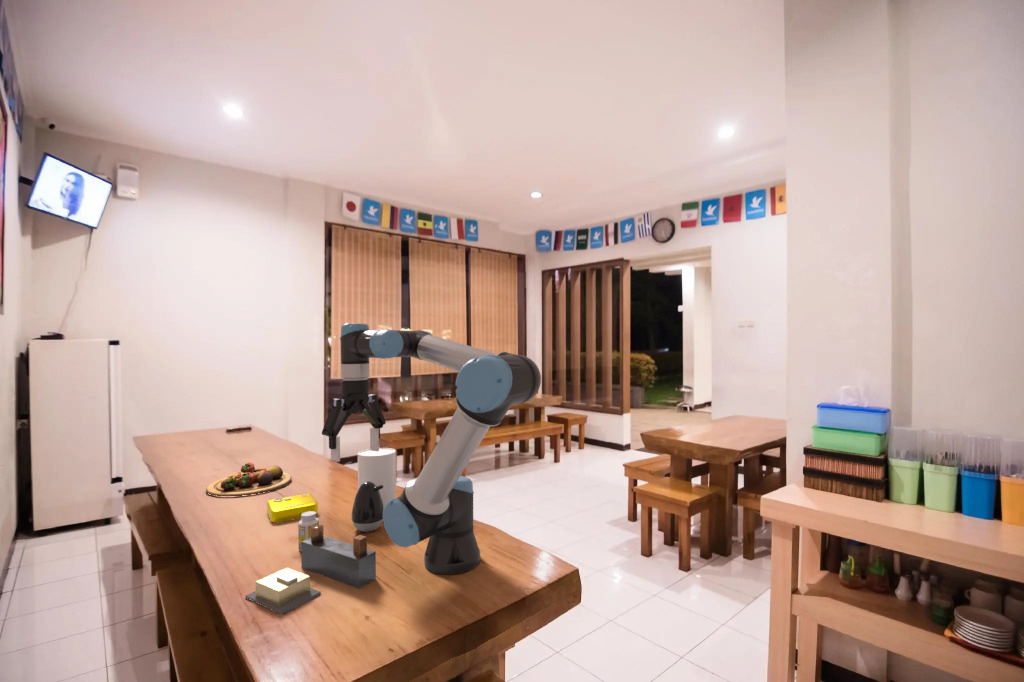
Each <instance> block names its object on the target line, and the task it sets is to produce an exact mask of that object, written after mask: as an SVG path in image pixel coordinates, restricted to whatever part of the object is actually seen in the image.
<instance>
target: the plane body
mask: <svg viewBox="0 0 1024 682" xmlns="http://www.w3.org/2000/svg"><path fill="white" fill-rule="evenodd" d="M301 546H302V551H301V569H304V570H307V571H309V572H312V573H315V574H318V575H321V576H322V577H325V578H328V579H331V580H334V581H336V582H339V583H342V584H344V585H347V586H350V587H353V588H355V589H361V588H363V587H364V586H366V585H368V584H370V583H371V582H373V581H375V580H377V572H376V571H377V565H376V564H377V561H376V560H377V554H376V550H372V549H369V548H368V537H367V536H365V535H362V534H359V535H357V536H355V537H353V540H352V543H350V542H345V541H344V540H343V541H342V540H339V539H335V538H332V537H329V536H327V535H324V525H323V524H319V525H314V526H312V527H311V538H309V539H307V540H304V541H302V542H301Z"/></svg>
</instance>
